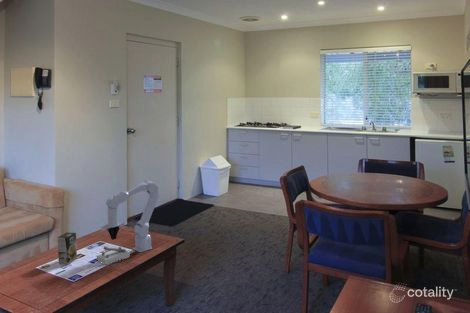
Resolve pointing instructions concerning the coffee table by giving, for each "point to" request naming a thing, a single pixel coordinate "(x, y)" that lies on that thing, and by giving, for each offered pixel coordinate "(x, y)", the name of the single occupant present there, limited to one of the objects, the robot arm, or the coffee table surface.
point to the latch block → (113, 256)
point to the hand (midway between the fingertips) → (113, 239)
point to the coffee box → (67, 248)
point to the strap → (112, 249)
